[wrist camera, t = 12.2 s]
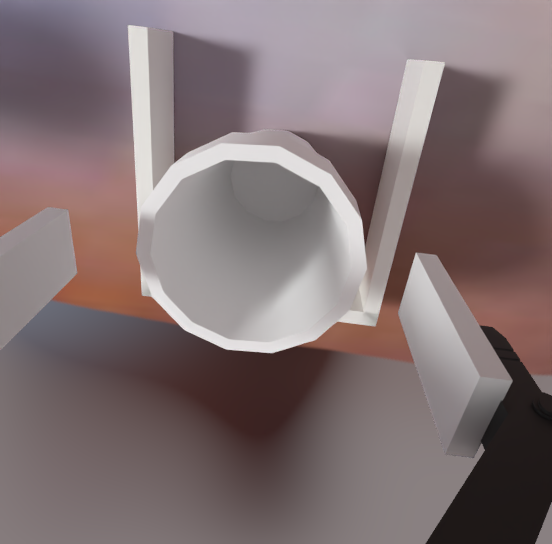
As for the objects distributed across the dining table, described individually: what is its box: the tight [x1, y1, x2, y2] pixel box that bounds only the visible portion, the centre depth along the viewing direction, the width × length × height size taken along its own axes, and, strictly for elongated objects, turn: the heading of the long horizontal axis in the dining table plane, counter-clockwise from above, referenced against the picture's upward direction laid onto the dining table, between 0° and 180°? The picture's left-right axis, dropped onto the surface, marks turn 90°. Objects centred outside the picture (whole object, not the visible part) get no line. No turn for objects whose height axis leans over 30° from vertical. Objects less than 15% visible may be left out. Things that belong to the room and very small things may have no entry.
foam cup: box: [136, 129, 367, 353], centre depth 23 cm, size 10×9×13 cm
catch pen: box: [128, 25, 445, 326], centre depth 27 cm, size 16×16×4 cm
